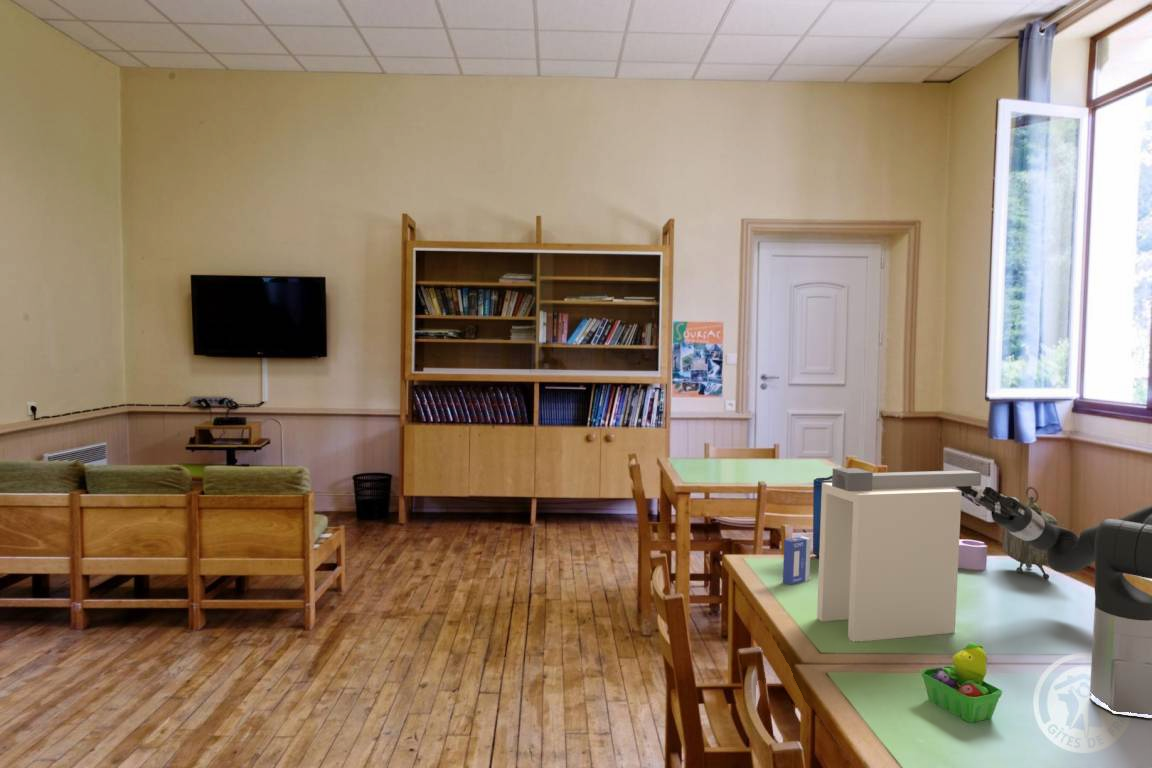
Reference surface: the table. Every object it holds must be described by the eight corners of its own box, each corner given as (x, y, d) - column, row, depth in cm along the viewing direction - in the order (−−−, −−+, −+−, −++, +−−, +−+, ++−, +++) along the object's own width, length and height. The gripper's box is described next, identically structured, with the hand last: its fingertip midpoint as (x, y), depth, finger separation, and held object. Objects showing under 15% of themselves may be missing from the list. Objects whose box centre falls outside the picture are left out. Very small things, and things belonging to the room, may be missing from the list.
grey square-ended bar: (965, 481, 176) (965, 465, 176) (984, 486, 170) (985, 469, 170) (832, 486, 167) (832, 468, 167) (848, 491, 161) (848, 473, 161)
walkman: (790, 585, 197) (792, 540, 196) (782, 582, 199) (784, 538, 198) (810, 580, 201) (811, 537, 200) (802, 577, 203) (803, 534, 203)
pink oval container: (980, 561, 223) (981, 539, 223) (989, 573, 211) (990, 549, 211) (908, 554, 229) (909, 532, 229) (912, 565, 218) (913, 542, 217)
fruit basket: (916, 697, 134) (919, 636, 133) (953, 690, 137) (956, 631, 137) (970, 728, 123) (973, 662, 123) (1008, 720, 126) (1012, 655, 126)
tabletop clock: (1056, 582, 204) (1060, 492, 202) (1020, 580, 205) (1025, 491, 204) (1032, 567, 218) (1036, 483, 217) (999, 564, 219) (1003, 481, 218)
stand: (912, 610, 179) (917, 480, 177) (954, 632, 165) (961, 491, 164) (816, 618, 172) (821, 482, 171) (853, 641, 159) (859, 494, 157)
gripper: (1035, 540, 170) (987, 506, 166) (987, 525, 184) (941, 494, 180) (1050, 512, 171) (1002, 478, 167) (1001, 499, 185) (956, 467, 181)
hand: (971, 486), depth 174 cm, fingers open, 8 cm apart
